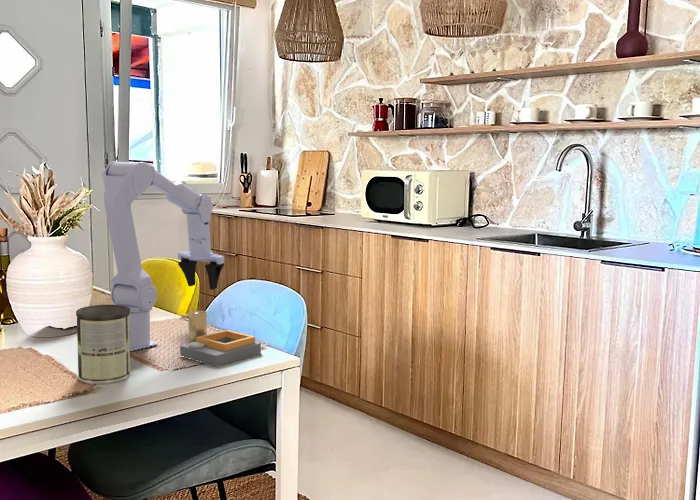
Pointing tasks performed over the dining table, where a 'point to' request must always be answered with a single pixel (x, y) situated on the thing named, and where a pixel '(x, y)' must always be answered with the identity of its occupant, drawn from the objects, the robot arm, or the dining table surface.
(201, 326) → the spout can
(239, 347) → the grey base with frame
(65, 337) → the dining table surface
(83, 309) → the coffee can
